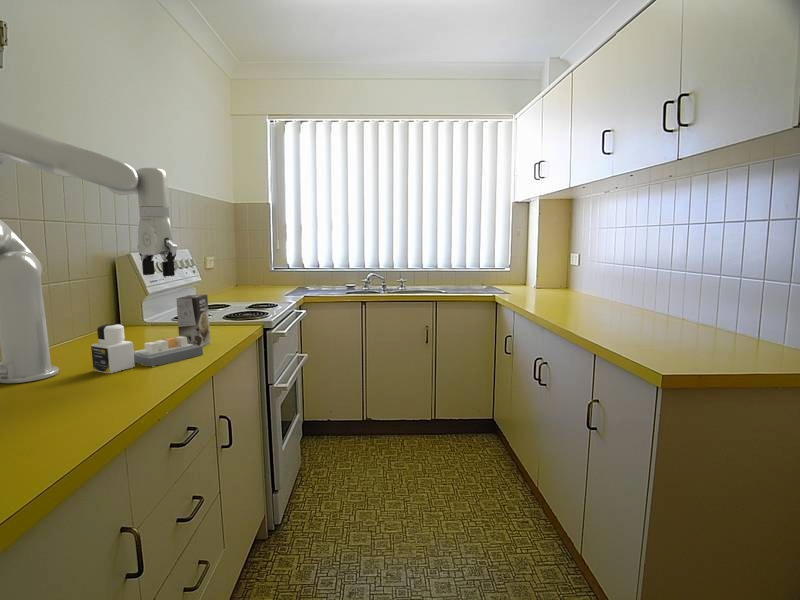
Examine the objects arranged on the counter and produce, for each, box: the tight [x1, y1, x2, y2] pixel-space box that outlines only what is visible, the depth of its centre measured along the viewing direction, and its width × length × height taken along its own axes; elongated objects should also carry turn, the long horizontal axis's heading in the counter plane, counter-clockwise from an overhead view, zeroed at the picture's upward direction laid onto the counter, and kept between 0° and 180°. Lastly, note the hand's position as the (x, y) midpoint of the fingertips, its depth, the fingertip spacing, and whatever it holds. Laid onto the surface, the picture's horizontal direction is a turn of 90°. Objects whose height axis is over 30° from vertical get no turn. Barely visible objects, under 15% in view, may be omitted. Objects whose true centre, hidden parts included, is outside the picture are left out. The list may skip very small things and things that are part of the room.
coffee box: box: [176, 294, 211, 348], centre depth 156 cm, size 9×6×16 cm
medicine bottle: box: [90, 323, 136, 375], centre depth 130 cm, size 7×7×12 cm
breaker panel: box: [133, 335, 204, 368], centre depth 142 cm, size 16×12×5 cm
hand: (158, 275), depth 139 cm, fingers open, 9 cm apart
